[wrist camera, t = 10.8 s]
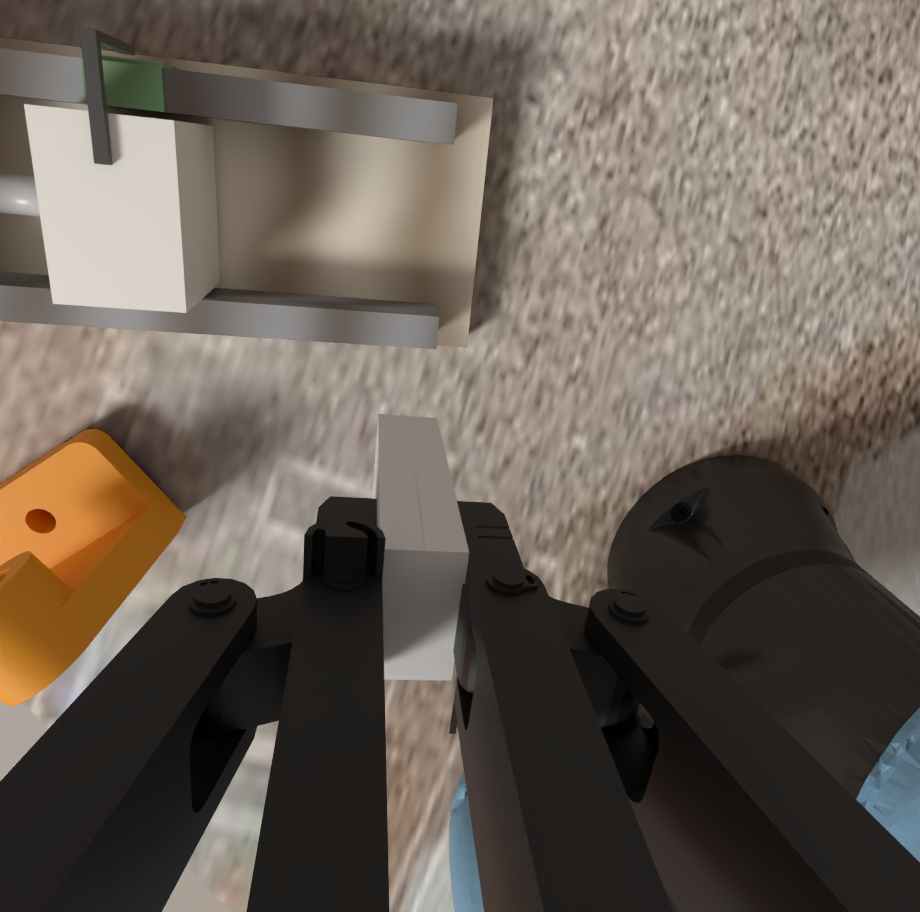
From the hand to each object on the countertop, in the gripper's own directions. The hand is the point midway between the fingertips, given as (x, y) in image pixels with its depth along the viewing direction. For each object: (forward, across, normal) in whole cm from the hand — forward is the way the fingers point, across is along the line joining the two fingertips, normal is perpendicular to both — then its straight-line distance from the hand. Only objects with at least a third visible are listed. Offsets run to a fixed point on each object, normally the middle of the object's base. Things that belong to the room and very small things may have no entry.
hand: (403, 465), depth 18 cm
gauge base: (+21, +11, -4) cm, 24 cm away
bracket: (+22, +18, +14) cm, 31 cm away
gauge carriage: (+19, +13, -5) cm, 24 cm away
